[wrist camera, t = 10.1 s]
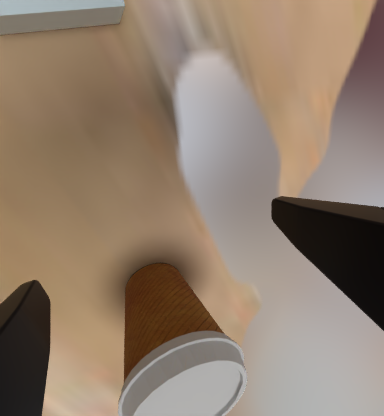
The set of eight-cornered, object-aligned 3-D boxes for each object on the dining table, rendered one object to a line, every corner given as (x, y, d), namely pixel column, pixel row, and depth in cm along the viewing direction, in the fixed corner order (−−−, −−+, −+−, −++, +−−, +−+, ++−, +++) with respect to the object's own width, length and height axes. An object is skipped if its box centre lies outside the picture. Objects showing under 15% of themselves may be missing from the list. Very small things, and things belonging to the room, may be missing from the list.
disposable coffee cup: (97, 267, 23) (99, 405, 12) (189, 238, 25) (253, 333, 15) (122, 331, 27) (139, 471, 17) (198, 300, 29) (253, 406, 19)
